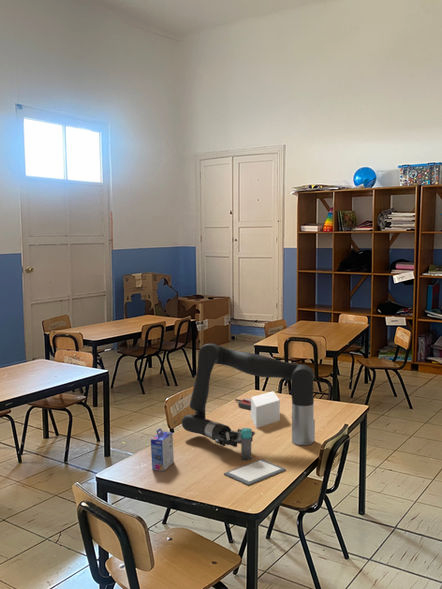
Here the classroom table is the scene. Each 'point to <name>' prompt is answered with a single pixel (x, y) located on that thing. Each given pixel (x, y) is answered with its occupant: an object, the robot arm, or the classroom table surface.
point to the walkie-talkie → (244, 403)
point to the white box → (265, 409)
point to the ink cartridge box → (162, 450)
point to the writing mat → (254, 472)
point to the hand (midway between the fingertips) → (244, 441)
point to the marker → (246, 444)
